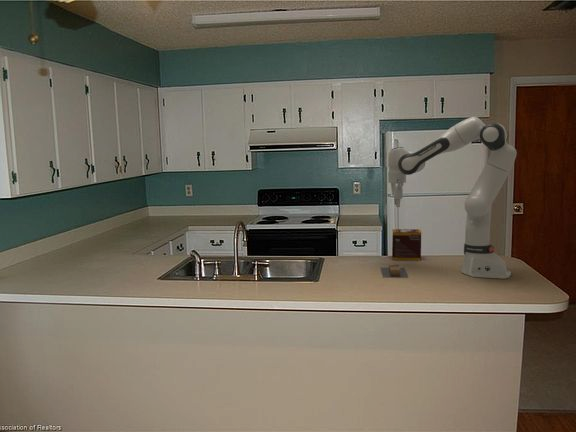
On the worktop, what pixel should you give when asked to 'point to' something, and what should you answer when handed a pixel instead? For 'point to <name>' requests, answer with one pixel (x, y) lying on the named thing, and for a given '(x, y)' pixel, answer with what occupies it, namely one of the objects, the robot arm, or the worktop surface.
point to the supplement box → (406, 244)
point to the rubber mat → (387, 275)
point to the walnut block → (394, 270)
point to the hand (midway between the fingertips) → (397, 205)
